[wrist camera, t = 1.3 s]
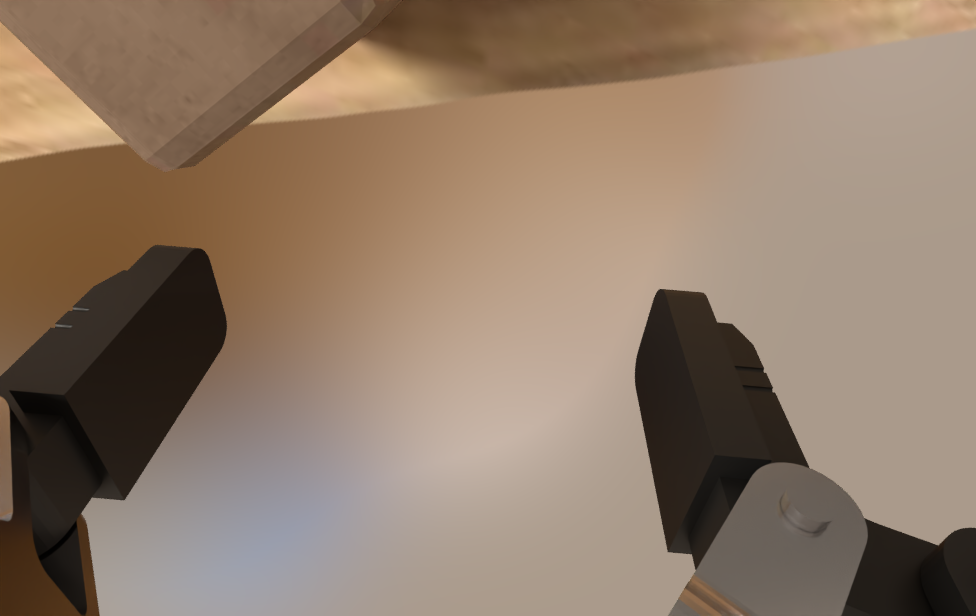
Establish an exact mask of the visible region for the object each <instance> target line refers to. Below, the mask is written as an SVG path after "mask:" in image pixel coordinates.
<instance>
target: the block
mask: <svg viewBox="0 0 976 616" xmlns="http://www.w3.org/2000/svg"><path fill="white" fill-rule="evenodd" d="M401 1H402V0H0V22H1V23H2V24H3V25H4V26H5V27H6V28H7V29H8V30H10V31H11V32H12V33H13V34H14V35H15V36H16V37H17V38H18V39H19V40H20V41H21V42H22V43H23V44H24V45H25V46H26V47H27V48H28V49H29V50H30V51H31V52H32V53H33V54H34V55H35V56H36V57H38V58H39V59H40V60H41V61H42V62H43V63H44V64H45V65H46V66H47V67H48V68H49V69H50V70H51V71H52V72H53V73H54V74H55V75H56V76H57V77H58V78H59V79H60V80H61V81H62V82H63V83H64V84H66V85H67V86H68V87H69V88H70V89H71V90H72V91H73V92H74V93H75V94H76V95H77V96H78V97H79V98H80V99H81V100H82V101H83V102H84V103H85V104H86V105H87V106H88V107H89V108H90V109H91V110H92V111H94V112H95V113H96V114H97V115H98V116H99V117H100V118H101V119H102V120H103V121H104V122H105V123H106V124H107V125H108V126H109V127H110V128H111V129H112V130H113V131H114V132H115V133H116V134H117V135H118V136H119V137H120V138H121V139H123V140H124V141H125V142H126V143H127V144H128V145H129V146H130V147H131V148H132V149H133V150H134V151H135V152H136V153H137V154H138V155H139V156H140V157H141V158H142V159H143V160H144V161H146V162H147V163H149V164H151V165H153V166H155V167H157V168H159V169H161V170H162V171H164V172H165V171H169V170H173V169H179V168H185V167H191V166H195V165H197V164H198V163H199V162H200V161H202V160H203V159H204V158H206V157H207V156H208V155H210V154H211V153H212V152H213V151H215V150H216V149H217V148H219V147H220V146H221V145H223V144H224V143H225V142H227V141H228V140H229V139H230V138H232V137H233V136H234V135H236V134H237V133H238V132H240V131H241V130H242V129H243V128H244V127H246V126H247V125H249V124H250V123H251V122H253V121H254V120H255V119H257V118H258V117H259V116H261V115H262V114H263V113H264V112H266V111H267V110H268V109H270V108H271V107H272V106H274V105H275V104H276V103H277V102H279V101H280V100H281V99H283V98H284V97H285V96H287V95H288V94H289V93H291V92H292V91H293V90H294V89H296V88H297V87H298V86H300V85H301V84H302V83H304V82H305V81H306V80H308V79H309V78H310V77H311V76H313V75H314V74H315V73H317V72H318V71H319V70H321V69H322V68H323V67H325V66H326V65H327V64H328V63H330V62H331V61H332V60H334V59H335V58H336V57H338V56H339V55H340V54H341V53H343V52H344V51H345V50H347V49H348V48H349V47H351V46H352V45H353V44H355V43H356V42H357V41H358V40H360V39H361V38H362V37H364V36H365V35H366V34H368V33H369V32H370V31H372V30H373V29H374V28H375V27H376V26H377V25H378V24H379V23H380V22H381V21H382V20H383V19H384V18H385V17H386V16H387V15H388V14H389V13H390V12H391V11H392V10H393V9H394V8H395V7H396V6H397V5H398V4H399V3H400V2H401Z"/></svg>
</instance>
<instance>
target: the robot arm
mask: <svg viewBox="0 0 976 616" xmlns="http://www.w3.org/2000/svg"><path fill="white" fill-rule="evenodd" d="M226 322H227V321H226V315H225V312H224V308H223V305H222V301H221V298H220V294H219V291H218V287H217V284H216V280H215V277H214V273H213V270H212V266H211V263H210V260H209V257H208V255H207V254H206V252H205V251H204V250H202V249H199V248H187V247H176V246H164V245H155V246H153V247H151V248H150V249H149V250H148V251H147V252H146V253H145V254H144V255H143V256H142V257H141V258H140V259H139V260H138V261H137V262H136V263H135V264H134V265H133V266H132V267H131V268H130V269H129V270H128V271H125V270H124V271H121V272H120V273H118V274H116V275H114V276H112V277H110V278H109V279H107V280H105V281H103V282H101V283H99V284H98V285H96V286H94V287H93V288H92V289H91V290H90V291H89V292H88V293H87V294H85V296H84V297H82V298H81V300H80V301H78V302H77V303H76V304H75V305H74V306H73V311H68V312H67V313H66V314H65V315H64V316H63V317H62V318H61V319H60V320H58V322H56V327H55V328H50V329H49V330H48V331H47V332H46V333H45V334H44V335H43V336H42V337H41V338H40V339H39V340H38V341H37V342H36V343H35V344H34V345H33V346H31V347H30V348H29V349H28V350H27V351H26V352H25V353H24V354H23V355H22V356H21V357H20V358H19V359H18V360H17V361H16V362H15V363H14V364H13V365H12V366H11V367H10V368H9V369H8V370H7V371H6V372H4V373H3V374H2V375H1V376H0V616H100V615H99V607H98V600H97V593H96V586H95V579H94V571H93V564H92V557H91V550H90V542H89V536H88V528H87V523H86V520H85V518H84V517H83V515H82V514H81V513H82V511H83V510H84V508H85V507H86V505H87V504H88V502H89V501H90V499H91V498H92V497H93V498H104V499H116V500H125V499H126V497H127V495H128V494H129V492H130V491H131V489H132V488H133V486H134V485H135V483H136V481H137V480H138V478H139V477H140V475H141V474H142V472H143V471H144V469H145V467H146V466H147V464H148V463H149V461H150V460H151V458H152V457H153V455H154V453H155V452H156V450H157V449H158V447H159V446H160V444H161V443H162V441H163V439H164V437H165V436H166V435H167V433H168V432H169V430H170V429H171V427H172V425H173V424H174V422H175V421H176V419H177V417H178V416H179V414H180V413H181V411H182V410H183V408H184V407H185V405H186V403H187V402H188V400H189V399H190V397H191V396H192V394H193V392H194V391H195V390H196V388H197V386H198V385H199V383H200V382H201V380H202V379H203V377H204V376H205V374H206V372H207V371H208V369H209V368H210V366H211V364H212V363H213V362H214V360H215V358H216V357H217V355H218V353H219V352H220V350H221V349H222V347H223V344H224V341H225V337H226V330H227V323H226ZM763 370H764V367H763V365H762V363H761V361H760V359H759V356H758V355H757V352H756V350H755V348H754V345H753V344H752V343H751V342H750V341H749V340H748V339H747V338H746V337H745V336H744V335H743V334H742V333H741V332H740V331H739V330H738V329H737V328H735V326H734V325H733V324H728V323H717V321H716V318H715V316H714V313H713V311H712V308H711V306H710V304H709V301H708V298H707V296H706V295H705V294H704V293H701V292H689V291H677V290H666V289H660V290H658V291H657V293H656V295H655V297H654V300H653V303H652V307H651V310H650V313H649V317H648V320H647V324H646V327H645V330H644V333H643V337H642V340H641V343H640V347H639V350H638V354H637V358H636V366H635V386H636V391H637V396H638V402H639V407H640V411H641V417H642V421H643V427H644V432H645V438H646V442H647V448H648V453H649V457H650V463H651V468H652V473H653V478H654V484H655V489H656V494H657V499H658V504H659V508H660V514H661V519H662V525H663V530H664V535H665V540H666V545H667V550H668V552H673V553H684V554H692V556H693V561H694V565H695V569H696V571H695V573H694V575H693V576H692V578H691V580H690V581H689V582H688V584H687V585H686V587H685V588H684V590H683V592H682V593H681V595H680V597H679V598H678V600H677V602H676V603H675V605H674V607H673V608H672V610H671V612H670V614H669V615H668V616H976V528H963V529H959V530H957V531H954V532H953V533H951V534H950V535H949V536H948V537H947V538H946V539H945V540H944V541H943V542H942V543H940V545H935V544H932V543H930V542H927V541H924V540H921V539H918V538H915V537H913V536H910V535H907V534H904V533H902V532H899V531H896V530H893V529H891V528H888V527H885V526H882V525H879V524H877V523H874V522H872V521H870V520H867V519H865V518H864V517H863V515H862V513H861V511H860V509H859V507H858V506H857V504H856V503H855V502H854V500H853V499H852V498H851V497H850V496H849V495H848V494H847V493H846V492H845V491H844V490H843V489H842V488H841V487H840V486H839V485H837V484H836V483H835V482H834V481H832V480H831V479H829V478H827V477H826V476H824V475H823V474H821V473H819V472H817V471H815V470H813V469H810V468H809V466H808V464H807V461H806V459H805V457H804V455H803V453H802V450H801V448H800V446H799V444H798V442H797V439H796V437H795V435H794V433H793V431H792V429H791V426H790V424H789V422H788V420H787V418H786V416H785V413H784V411H783V409H782V407H781V405H780V402H779V400H778V398H777V396H776V394H775V393H773V392H772V388H773V387H772V385H771V383H770V381H769V378H768V376H767V374H766V373H764V372H763Z"/></svg>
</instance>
